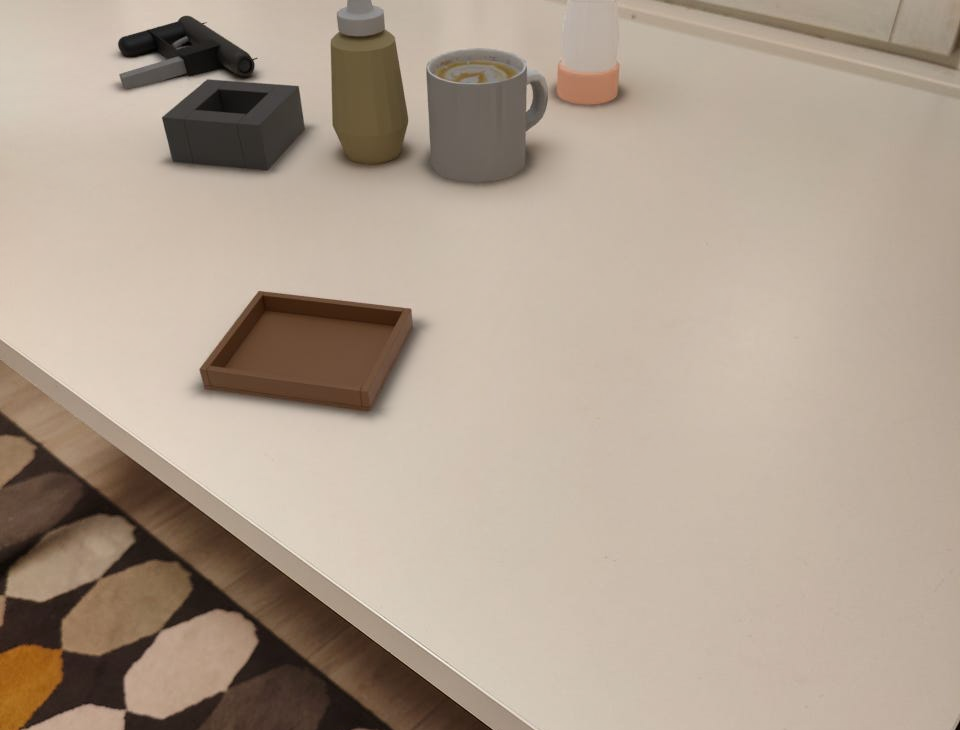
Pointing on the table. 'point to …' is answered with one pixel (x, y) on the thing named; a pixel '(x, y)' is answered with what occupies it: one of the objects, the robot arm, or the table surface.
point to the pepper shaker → (589, 52)
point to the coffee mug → (481, 113)
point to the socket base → (234, 124)
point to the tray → (309, 350)
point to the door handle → (182, 53)
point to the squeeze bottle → (367, 85)
